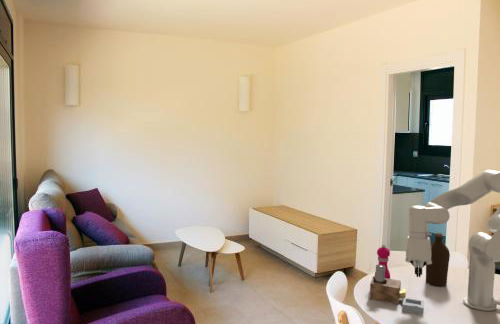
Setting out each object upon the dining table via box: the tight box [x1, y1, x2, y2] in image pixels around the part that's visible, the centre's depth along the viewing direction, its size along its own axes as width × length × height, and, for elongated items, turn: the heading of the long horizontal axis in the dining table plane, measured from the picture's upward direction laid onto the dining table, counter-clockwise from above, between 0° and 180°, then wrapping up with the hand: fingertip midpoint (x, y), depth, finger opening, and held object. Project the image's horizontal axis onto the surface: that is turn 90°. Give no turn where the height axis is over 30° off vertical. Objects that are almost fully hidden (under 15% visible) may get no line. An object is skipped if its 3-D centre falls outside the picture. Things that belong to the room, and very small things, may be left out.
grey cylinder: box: [375, 264, 385, 284], centre depth 182 cm, size 4×4×14 cm
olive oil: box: [425, 232, 451, 288], centre depth 198 cm, size 11×11×25 cm
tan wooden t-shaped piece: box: [399, 288, 407, 302], centre depth 179 cm, size 7×4×4 cm, turn 65°
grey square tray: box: [401, 296, 425, 315], centre depth 170 cm, size 8×8×3 cm
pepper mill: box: [374, 243, 391, 279], centre depth 196 cm, size 7×7×20 cm
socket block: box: [369, 275, 402, 305], centre depth 181 cm, size 12×10×7 cm
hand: (418, 275), depth 176 cm, fingers closed
